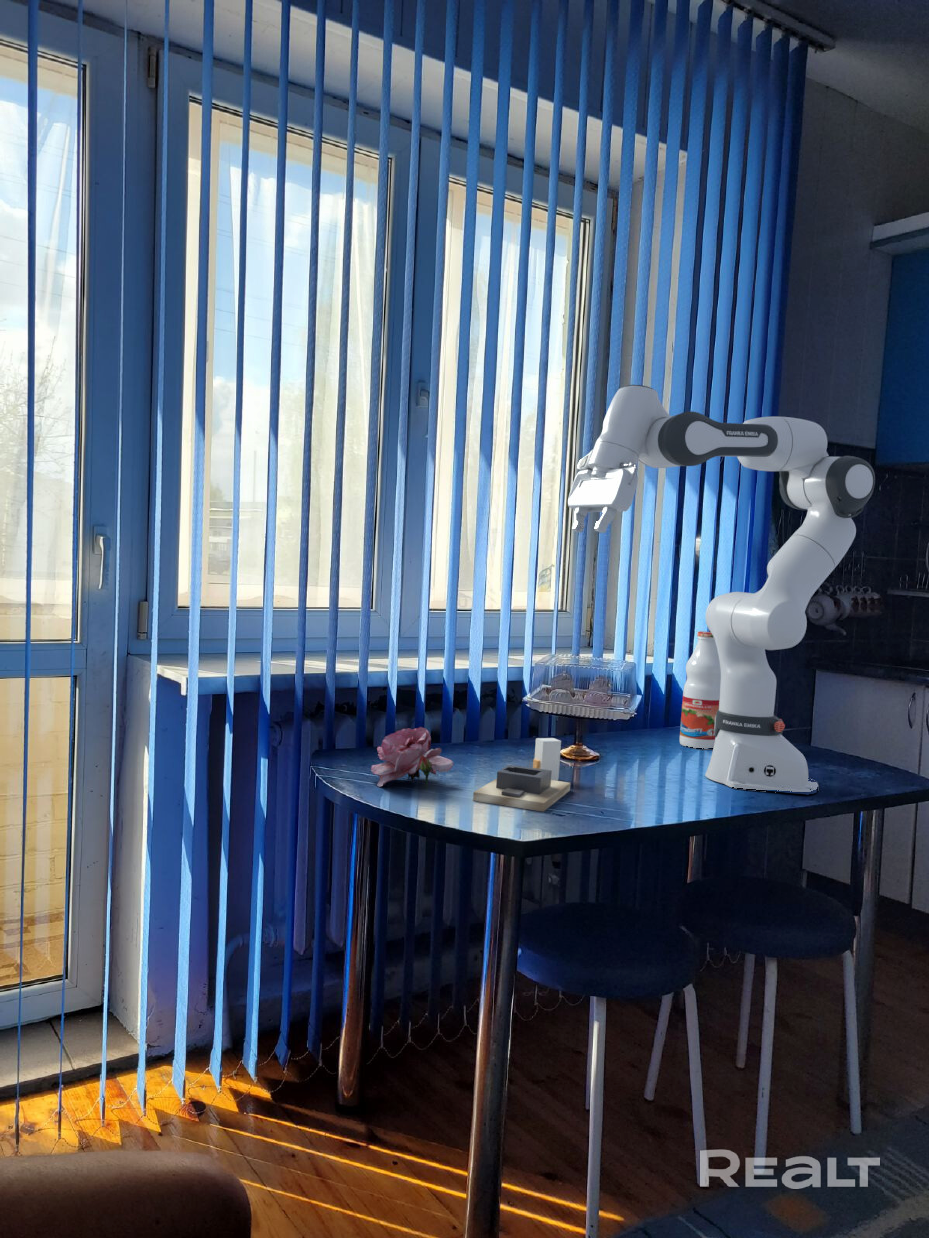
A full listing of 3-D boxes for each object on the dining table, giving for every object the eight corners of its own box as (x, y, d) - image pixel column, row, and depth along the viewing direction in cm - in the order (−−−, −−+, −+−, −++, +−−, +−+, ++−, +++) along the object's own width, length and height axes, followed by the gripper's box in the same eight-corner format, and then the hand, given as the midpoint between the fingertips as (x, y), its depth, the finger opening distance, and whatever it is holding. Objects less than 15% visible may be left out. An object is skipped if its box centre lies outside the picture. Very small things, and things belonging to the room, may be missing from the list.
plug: (550, 777, 200) (553, 737, 200) (558, 781, 198) (561, 740, 197) (530, 778, 198) (533, 738, 198) (537, 781, 196) (540, 741, 195)
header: (550, 786, 186) (551, 770, 186) (539, 794, 179) (540, 777, 179) (508, 780, 189) (509, 764, 189) (496, 787, 182) (497, 771, 182)
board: (569, 790, 190) (570, 779, 190) (543, 811, 174) (544, 799, 173) (504, 780, 195) (505, 770, 195) (472, 800, 178) (473, 788, 178)
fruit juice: (724, 746, 247) (733, 633, 245) (710, 751, 239) (719, 634, 237) (687, 740, 252) (696, 629, 250) (672, 745, 245) (682, 630, 243)
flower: (408, 755, 199) (406, 710, 195) (465, 779, 190) (463, 733, 186) (353, 786, 188) (350, 739, 185) (410, 813, 179) (407, 764, 176)
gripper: (653, 468, 185) (627, 538, 185) (601, 473, 204) (577, 536, 204) (625, 454, 183) (599, 525, 182) (575, 461, 202) (551, 525, 201)
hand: (587, 531), depth 193 cm, fingers open, 8 cm apart
